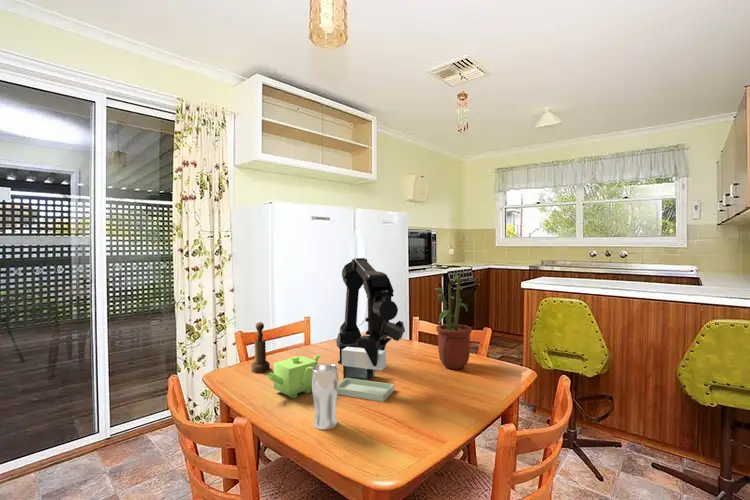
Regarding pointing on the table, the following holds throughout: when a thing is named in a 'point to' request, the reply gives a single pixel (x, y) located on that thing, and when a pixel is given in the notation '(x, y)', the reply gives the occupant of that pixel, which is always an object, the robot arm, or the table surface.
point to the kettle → (293, 375)
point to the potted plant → (453, 333)
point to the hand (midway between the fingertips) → (377, 363)
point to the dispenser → (357, 373)
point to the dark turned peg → (260, 352)
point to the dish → (365, 389)
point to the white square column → (362, 358)
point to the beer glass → (325, 395)
